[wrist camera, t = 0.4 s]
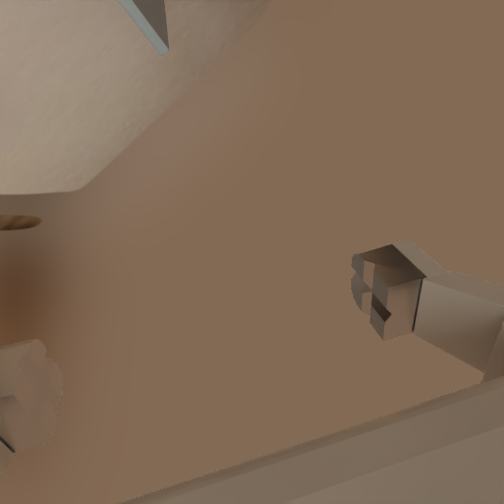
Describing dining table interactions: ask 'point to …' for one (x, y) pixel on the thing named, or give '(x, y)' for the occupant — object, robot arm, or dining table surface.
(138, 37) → the dining table surface
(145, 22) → the lid
